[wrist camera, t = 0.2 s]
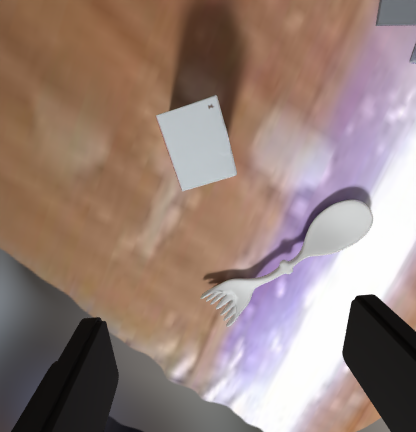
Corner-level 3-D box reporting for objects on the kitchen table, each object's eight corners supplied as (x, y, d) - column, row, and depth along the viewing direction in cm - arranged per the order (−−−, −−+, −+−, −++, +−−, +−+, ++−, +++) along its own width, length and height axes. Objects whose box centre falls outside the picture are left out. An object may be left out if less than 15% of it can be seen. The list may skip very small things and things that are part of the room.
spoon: (198, 287, 46) (199, 299, 42) (350, 185, 41) (364, 190, 37) (225, 316, 48) (228, 330, 45) (371, 225, 43) (386, 233, 40)
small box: (166, 119, 35) (153, 113, 23) (208, 105, 35) (218, 92, 23) (184, 172, 38) (181, 192, 26) (223, 160, 38) (239, 175, 25)
